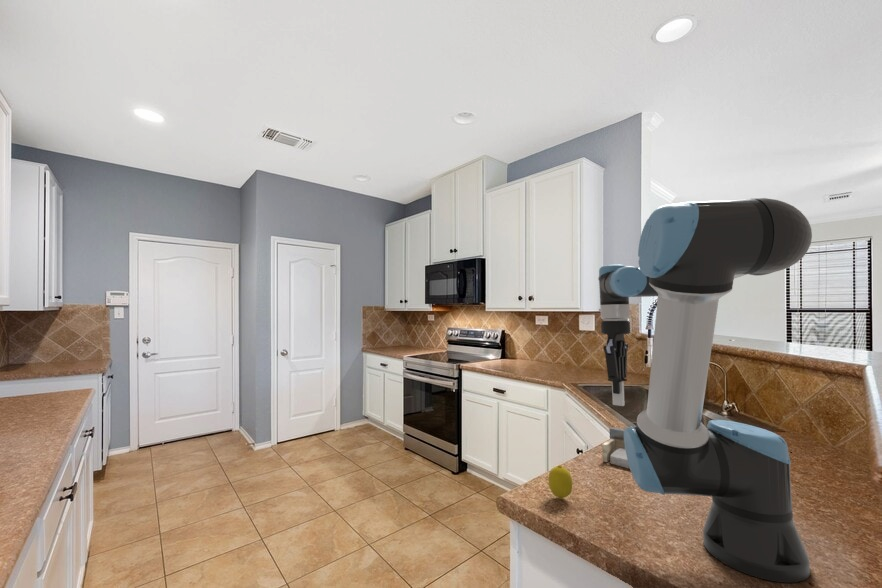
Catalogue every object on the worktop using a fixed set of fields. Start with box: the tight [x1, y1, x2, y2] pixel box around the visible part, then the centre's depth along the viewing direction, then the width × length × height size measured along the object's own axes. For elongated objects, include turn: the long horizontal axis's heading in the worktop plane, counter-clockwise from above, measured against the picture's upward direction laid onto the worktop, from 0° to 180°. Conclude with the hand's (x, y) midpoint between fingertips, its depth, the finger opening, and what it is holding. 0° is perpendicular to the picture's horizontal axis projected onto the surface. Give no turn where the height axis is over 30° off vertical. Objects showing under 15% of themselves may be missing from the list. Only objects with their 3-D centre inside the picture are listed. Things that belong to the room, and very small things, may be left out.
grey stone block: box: [609, 448, 630, 470], centre depth 114 cm, size 10×6×6 cm, turn 41°
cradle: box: [601, 438, 625, 463], centre depth 114 cm, size 8×14×5 cm, turn 47°
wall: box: [609, 426, 626, 440], centre depth 118 cm, size 2×16×8 cm, turn 47°
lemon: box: [548, 464, 573, 500], centre depth 93 cm, size 6×6×8 cm
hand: (618, 404), depth 107 cm, fingers closed
